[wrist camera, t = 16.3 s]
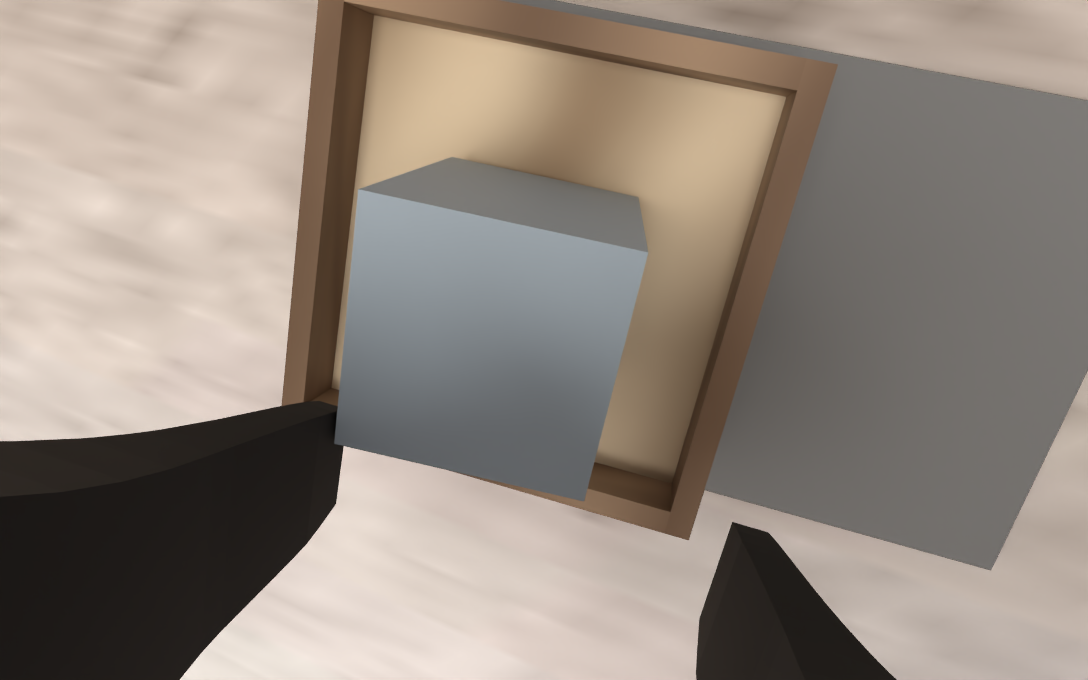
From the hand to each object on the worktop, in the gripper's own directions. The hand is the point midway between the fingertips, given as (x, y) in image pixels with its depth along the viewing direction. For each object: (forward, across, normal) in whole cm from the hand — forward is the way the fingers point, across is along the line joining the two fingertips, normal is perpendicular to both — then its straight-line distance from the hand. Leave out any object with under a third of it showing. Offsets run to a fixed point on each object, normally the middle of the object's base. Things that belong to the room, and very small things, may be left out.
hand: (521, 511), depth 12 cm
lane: (+10, -2, -3) cm, 10 cm away
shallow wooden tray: (+10, +2, -3) cm, 10 cm away
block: (+6, +2, -3) cm, 7 cm away
